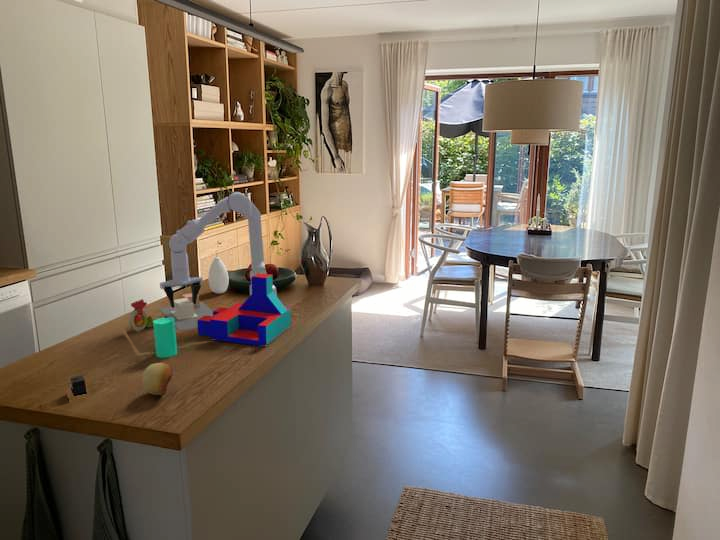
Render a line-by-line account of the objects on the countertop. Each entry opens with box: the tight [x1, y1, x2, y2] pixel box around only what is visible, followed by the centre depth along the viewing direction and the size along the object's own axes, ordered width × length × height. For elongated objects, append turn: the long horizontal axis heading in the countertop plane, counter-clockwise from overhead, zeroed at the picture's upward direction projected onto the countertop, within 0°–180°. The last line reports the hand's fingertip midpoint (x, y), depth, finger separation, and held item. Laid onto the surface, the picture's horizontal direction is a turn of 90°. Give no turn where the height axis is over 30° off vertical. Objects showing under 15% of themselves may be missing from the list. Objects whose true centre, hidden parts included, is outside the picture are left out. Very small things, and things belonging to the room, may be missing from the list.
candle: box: [152, 315, 178, 358], centre depth 164 cm, size 6×6×12 cm
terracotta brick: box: [182, 292, 200, 307], centre depth 210 cm, size 5×5×4 cm
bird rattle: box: [128, 299, 154, 332], centre depth 184 cm, size 6×11×9 cm
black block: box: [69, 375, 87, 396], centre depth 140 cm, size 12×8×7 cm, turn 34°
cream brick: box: [174, 297, 194, 318], centre depth 200 cm, size 5×9×4 cm, turn 32°
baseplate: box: [159, 301, 214, 332], centre depth 199 cm, size 16×30×1 cm, turn 32°
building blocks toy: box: [197, 273, 291, 346], centre depth 180 cm, size 19×25×18 cm
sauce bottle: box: [207, 251, 230, 294], centre depth 227 cm, size 8×8×18 cm
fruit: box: [141, 362, 174, 396], centre depth 138 cm, size 8×8×8 cm
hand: (183, 305), depth 200 cm, fingers open, 7 cm apart
